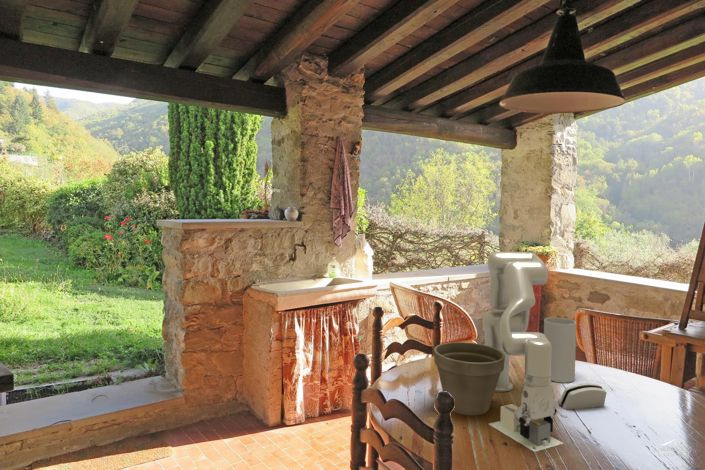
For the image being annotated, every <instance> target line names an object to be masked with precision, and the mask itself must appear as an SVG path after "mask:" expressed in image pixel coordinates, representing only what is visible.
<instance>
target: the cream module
mask: <svg viewBox="0 0 705 470" xmlns="http://www.w3.org/2000/svg"><path fill="white" fill-rule="evenodd" d="M519 407H520V406H517V405H515V404H512V403H510V404H506V405H502V406H500V420H499V421H500V424H501V425H503V426H504V427H506V428H508V429H509V430H511V431H513V432H516V430H517V426H518V425H519V426H520V423H519V421H518V420H517V419H516V416H515V413H514V412H515V410H517V409H518V408H519ZM521 415H522V414H521ZM525 418H527V417H526V416H525Z"/></svg>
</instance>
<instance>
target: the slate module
mask: <svg viewBox="0 0 705 470" xmlns="http://www.w3.org/2000/svg"><path fill="white" fill-rule="evenodd" d="M526 419H527V417H526V418H524V420H526ZM528 425H529V426H530V433H529V438H528V439H527V438H525V437H523V438H525V439H527V440H528V441H530V442H532V443H533V444H535V445H537V446H540V445H541V439H544V440H546V441H548V443H550V436H551V432H550V423H548V422H546V421H545V420H543V418H541V419H537V420H532V419H531V420H530V422H529V424H528Z"/></svg>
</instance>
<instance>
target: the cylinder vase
mask: <svg viewBox="0 0 705 470" xmlns="http://www.w3.org/2000/svg"><path fill="white" fill-rule="evenodd" d="M543 334H544V335H545V336H546V338H547V339H548V341H549V342H550V343H551V382H555V383H559V384H561V383H562V384H566V383H567V384H569V383H573V382H574V381H575V379H576V350H577V349H576V347H577V341H576V340H577V338H576V337H577V321H575V320H573V319H570V318H565V317H563V318H562V317H545V318H544V320H543Z"/></svg>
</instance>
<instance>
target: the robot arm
mask: <svg viewBox="0 0 705 470" xmlns="http://www.w3.org/2000/svg"><path fill="white" fill-rule="evenodd" d="M487 267H488V270H489V274H490V281H489V282H490V283H489V294H488V304H489V306H490V308H492V310H488V311H486V312H485V313H484V314H483V316H482V324H483V329H484V330H483V331H484V345H487V346H491V347H494V348H496V349H498V350H500V351H502V352H503V353H504V354H505V362H504V369H503V371H502V372H501V373H500V376H499V379H498V383H497V386H496V389H495V392H497V393H498V392H499V393H501V392H502V393H503V392H510V391H512V390H513V388H514V387H513V383H511V382H510V381H509V380H510V356H512V357H513V356H514V357H515V356H516V357H519V356H521V357H524V378H523V385H522V390H521V395H520V406H518V407H519V408H518V409H517V410H515V412H514V413H515V416H516V419H517V420H518V421H519V423H520V435H522V436H523V437H525V438H527V439H528V438H529V433H530V426H529V425H528V424H529V422H530V420H531V419H532V420H537V419H543V420H545V421H546V422H548V423H550V433H553V432H554V431H553V430H554V420H555V415H556V414H557V413H558V407H559V405H560V404H559V403H558V402H557V401H555V390H554V386H553V382H552V381H551V343H550V342H549V341H548V339H547V338H546V336H545V335H544V333H542V332H540V331H539V332H538V331H527V330H528V327H529V321H530V313H531V308H533V307H534V306H535V304H536V297H535V292H534V288H533V286H543V285H545V284H547V282H548V280H549V279H548V278H549V272H548V267H547V265H546V264H545V261H543V260H542V258H540V257H539V256H538V255H537V254H535V253H534V252H530V251H494V252H491V253H490V254H488V257H487ZM521 414H522V415H521ZM525 416H526V418H527V419H526V420H524V418H525Z"/></svg>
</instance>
